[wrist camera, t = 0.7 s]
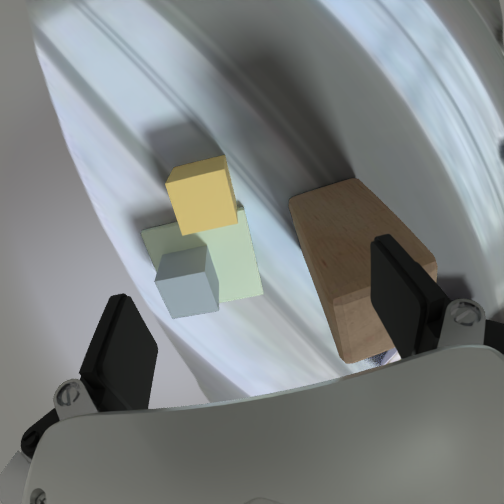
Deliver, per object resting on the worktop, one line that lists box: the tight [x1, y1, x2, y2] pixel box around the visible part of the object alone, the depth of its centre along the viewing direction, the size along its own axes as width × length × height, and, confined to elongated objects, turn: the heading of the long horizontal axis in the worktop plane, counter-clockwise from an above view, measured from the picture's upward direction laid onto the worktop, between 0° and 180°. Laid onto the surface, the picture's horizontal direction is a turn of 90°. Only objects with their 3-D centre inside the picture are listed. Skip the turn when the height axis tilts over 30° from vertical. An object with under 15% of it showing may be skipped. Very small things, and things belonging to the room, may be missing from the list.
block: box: [288, 178, 437, 364], centre depth 33 cm, size 10×10×20 cm
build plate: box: [141, 207, 264, 303], centre depth 43 cm, size 14×14×1 cm
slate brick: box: [155, 245, 219, 319], centre depth 41 cm, size 6×6×6 cm
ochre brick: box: [165, 155, 238, 236], centre depth 35 cm, size 6×6×6 cm
